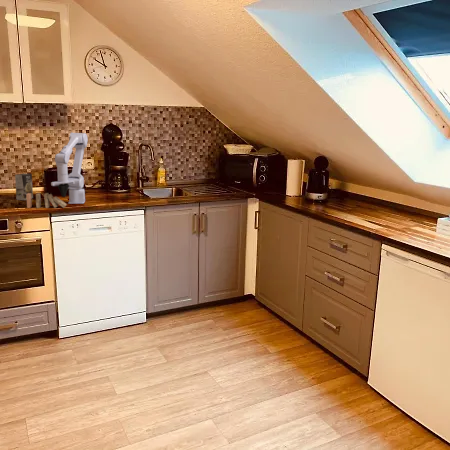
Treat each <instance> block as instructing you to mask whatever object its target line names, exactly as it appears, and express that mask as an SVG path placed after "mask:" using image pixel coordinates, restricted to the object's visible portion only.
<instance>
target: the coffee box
mask: <svg viewBox="0 0 450 450" xmlns="http://www.w3.org/2000/svg"><path fill="white" fill-rule="evenodd" d="M14 177H15V179H14V180H15V181H14V182H15V196H16V200H17V201H27V196H26V194H28V193H31V198H32V199H34V191H33V176H32V173H18V174H15V175H14Z"/></svg>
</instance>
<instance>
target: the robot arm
mask: <svg viewBox="0 0 450 450" xmlns="http://www.w3.org/2000/svg"><path fill="white" fill-rule="evenodd" d="M68 139H69V140H68V142H67V144H66V145H64V146H63V147H62V149H61V150H60V152H59V153H57V154H55V157H54V162H55V166H56V167H57V168H56V169H57V181H52V182H50V185H51V186H52V187H57V188H58V190H59V193H60V195H61V197H62V198H64V197H65V198H66V196H67V191H68V196H69V197H68V198H69V201H68V202H67V204H71V205H72V204H75V205H76V204H85V202H86V194H85V193H86V191H85V188H84V184H85V178H84V176H83V175H82V174H81V171H82V165H83V160H84V154H85V149H86V148H87V145H88V140H89V137H88V134H87V133H85V132H70V133H69V136H68ZM73 148H75V152H74V159H73V164H72V170H71V172H70V173H68V171H69V169H68V163H69V162H70V156H71V155H72V154H73Z"/></svg>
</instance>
